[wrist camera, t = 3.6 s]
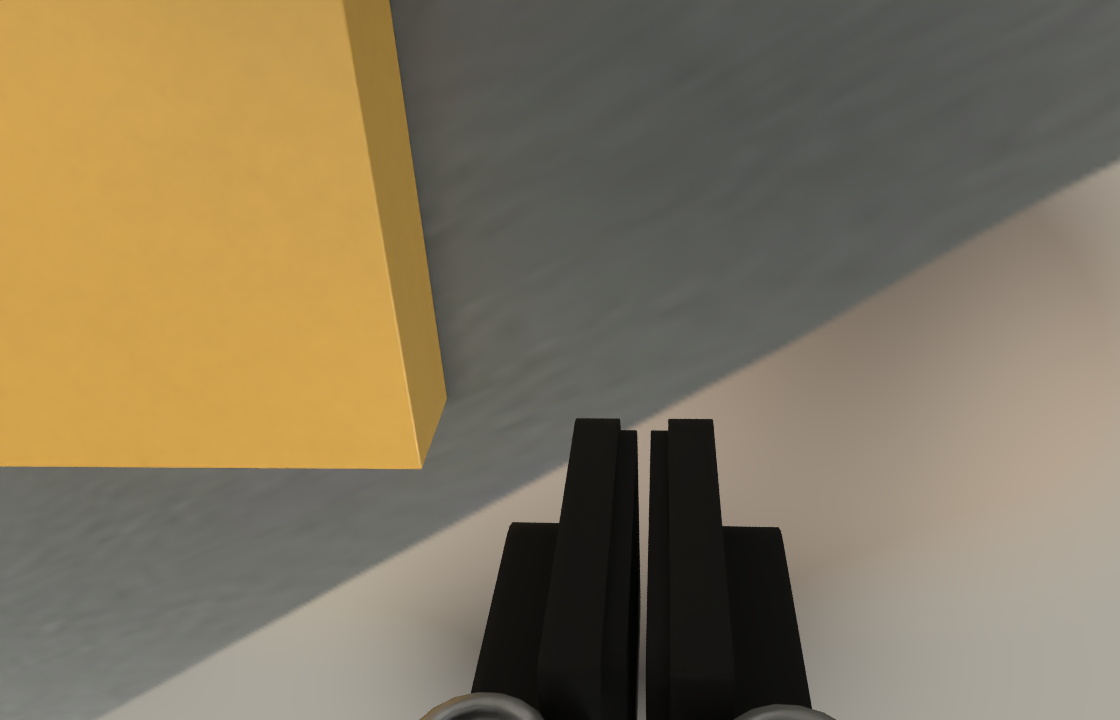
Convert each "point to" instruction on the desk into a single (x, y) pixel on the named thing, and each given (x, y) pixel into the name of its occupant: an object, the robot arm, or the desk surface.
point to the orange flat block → (210, 238)
